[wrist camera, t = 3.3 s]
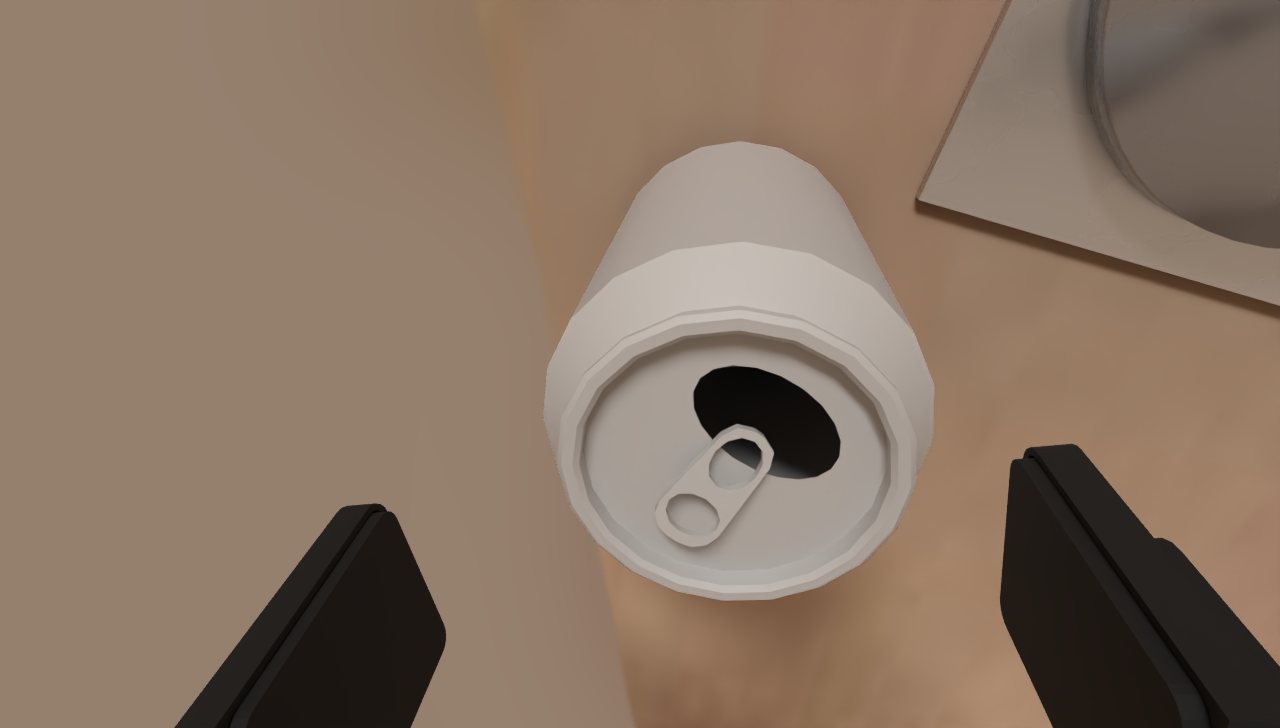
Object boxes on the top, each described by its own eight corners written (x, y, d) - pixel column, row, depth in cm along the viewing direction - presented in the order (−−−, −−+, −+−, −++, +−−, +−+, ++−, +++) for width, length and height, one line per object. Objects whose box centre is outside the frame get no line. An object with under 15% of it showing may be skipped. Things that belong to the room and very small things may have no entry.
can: (904, 233, 21) (1069, 463, 11) (749, 393, 24) (758, 687, 14) (714, 82, 20) (687, 173, 9) (579, 273, 23) (446, 499, 13)
